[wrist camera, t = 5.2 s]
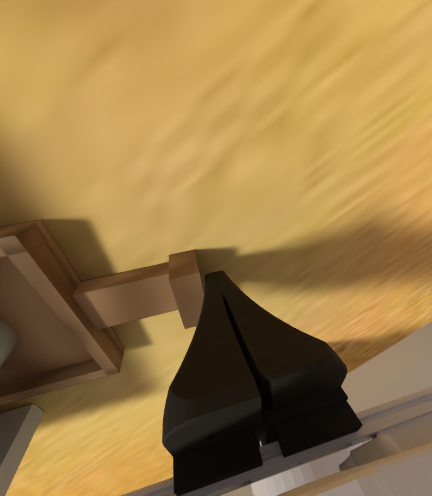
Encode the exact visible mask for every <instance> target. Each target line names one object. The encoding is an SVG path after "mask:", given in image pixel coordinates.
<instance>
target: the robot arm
mask: <svg viewBox="0 0 432 496" xmlns="http://www.w3.org/2000/svg"><path fill="white" fill-rule="evenodd" d="M346 374H347V367H346V365H345V364H344V363H343V361H342V360H341V359H340V357H339V356H338V355H337V354H336V353H335V352H334V351H333V349H332V348H331V347H330V346H329V345H328V344H327V343H326V342H324V341H322V340H319V339H317V338H315V337H313V336H310V335H308V334H306V333H304V332H302V331H300V330H298V329H296V328H294V327H292V326H290V325H289V324H287V323H285V322H283V321H282V320H280V319H278V318H277V317H275V316H273V315H272V314H270V313H269V312H267V311H266V310H264V309H263V308H262V307H260V306H259V305H258V304H256V303H255V302H254V301H253V300H251V299H250V298H249V297H248V296H247V295H246V294H244V293H243V292H242V291H241V290H240V289H239V288H238V287H237V286H236V285H235V284H234V283H233V282H232V281H231V280H230V278H229V277H228V276H227V275H226V274H225V272H224V271H217V272H213V273H209V274H206V275H205V292H204V299H203V304H202V309H201V314H200V317H199V321H198V324H197V327H196V330H195V333H194V336H193V339H192V341H191V344H190V346H189V349H188V351H187V353H186V355H185V357H184V360H183V362H182V364H181V366H180V368H179V370H178V372H177V374H176V376H175V378H174V379H173V381H172V383H171V385H170V387H169V390H168V395H167V399H166V404H165V409H164V417H163V435H162V443H163V445H164V447H165V448H166V449H167V450H168V451H169V453H170V454H171V455H172V456H173V478H170V479H167V480H164V481H161V482H159V483H156V484H153V485H150V486H147V487H144V488H141V489H139V490H136V491H133V492H130V493H127V494H124V495H121V496H220V495H223V494H225V493H228V492H230V491H233V490H236V489H239V488H241V487H244V486H247V485H249V484H251V487H252V491H253V495H254V496H432V387H429V388H426V389H424V390H421V391H418V392H415V393H412V394H409V395H407V396H404V397H401V398H398V399H395V400H392V401H389V402H387V403H384V404H381V405H378V406H375V407H372V408H370V409H367V410H364V411H361V412H358V413H354V411H353V410H352V408H351V407H350V405H349V404H348V402H347V401H346V400H347V399H348V397H347V395H346V393H345V392H344V391H343V389H342V388H341V385H342V383H343V381H344V379H345V377H346ZM370 439H372V440H371V441H368V442H366V443H365V444H363V442H365V441H367V440H370Z"/></svg>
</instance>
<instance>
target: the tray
mask: <svg viewBox="0 0 432 496" xmlns="http://www.w3.org/2000/svg"><path fill="white" fill-rule="evenodd" d="M203 299H204V292H203V287H202V282H201V278H200V273H199V268H198V264H197V259H196V255H195V250H192V251H187V252H182V253H178V254H173V255H169V262H168V263H164V264H159V265H155V266H150V267H145V268H141V269H136V270H132V271H127V272H122V273H118V274H113V275H109V276H104V277H99V278H95V279H90V280H86V281H80V279H79V278H78V276H77V274H76V273H75V271H74V270H73V268H72V267H71V265H70V264H69V262H68V261H67V259H66V258H65V256H64V255H63V253H62V251H61V250H60V248H59V247H58V245H57V244H56V242H55V241H54V239H53V238H52V236H51V235H50V233H49V231H48V230H47V228H46V227H45V225H44V224H43V222H42V221H41V220H36V221H31V222H25V223H19V224H14V225H8V226H3V227H0V320H1V321H3V322H4V323H6V324H7V325H8V326H10V327H11V328H12V329H13V331H14V332H15V334H16V336H17V344H16V346H15V348H14V349H13V351H12V352H11V353H10V355H9V356H8V357H7V359H6V360H5V361H4V363H3V364H2V365H1V367H0V405H3V404H6V403H10V402H14V401H17V400H21V399H24V398H28V397H32V396H35V395H39V394H43V393H46V392H50V391H53V390H57V389H61V388H64V387H68V386H72V385H75V384H79V383H82V382H86V381H90V380H93V379H97V378H100V377H104V376H108V375H111V374H115V373H119V372H120V367H121V363H122V358H123V354H124V349H125V348H124V347H123V345H122V344H121V342H120V341H119V339H118V337H117V336H116V334H115V333H114V331H113V330H112V328H111V326H115V325H119V324H123V323H127V322H131V321H135V320H139V319H143V318H147V317H151V316H155V315H159V314H163V313H167V312H171V311H175V310H179V313H180V316H181V319H182V322H183V325H184V328H185V329H187V328H191V327H194V326H197V324H198V321H199V317H200V314H201V309H202V304H203Z"/></svg>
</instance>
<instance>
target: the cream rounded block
mask: <svg viewBox="0 0 432 496" xmlns="http://www.w3.org/2000/svg"><path fill="white" fill-rule="evenodd" d="M16 344H17V336H16V334H15V332H14V331H13V329H12V328H11V327H10V326H8V325H7V324H6V323H4V322H3V321H1V320H0V367H1V365H2V364H3V363H4V361H5V360H6V359H7V357H8V356H9V355H10V353H11V352H12V351H13V349H14V348H15V346H16Z"/></svg>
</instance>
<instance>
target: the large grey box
mask: <svg viewBox="0 0 432 496" xmlns="http://www.w3.org/2000/svg"><path fill="white" fill-rule="evenodd" d="M43 413H44V411H43V410H41V409H40V408H38V407H37V406H35V405H34V404H31V405H28V406H24V407H21V408H17V409H14V410H10V411H6V412H3V413H0V496H5V495H6V493H7V490H8V488H9V486H10V484H11V482H12V480H13V478H14V475H15V473H16V471H17V469H18V467H19V465H20V463H21V460H22V458H23V456H24V454H25V452H26V450H27V448H28V445H29V443H30V441H31V439H32V437H33V435H34V433H35V430H36V428H37V426H38V424H39V422H40V420H41V418H42V415H43Z"/></svg>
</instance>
